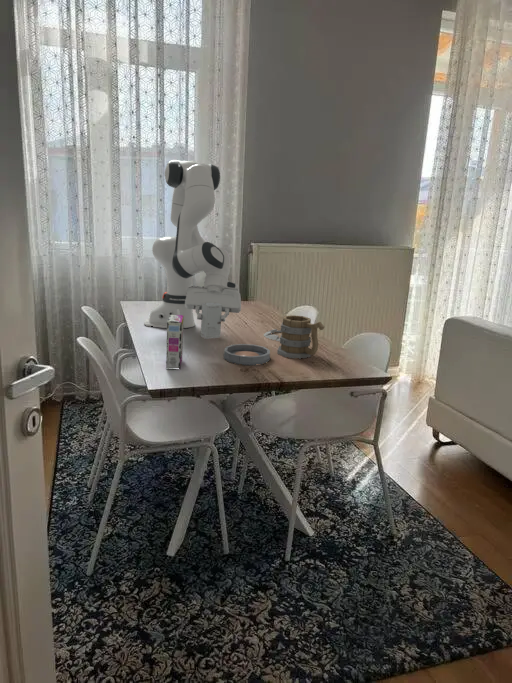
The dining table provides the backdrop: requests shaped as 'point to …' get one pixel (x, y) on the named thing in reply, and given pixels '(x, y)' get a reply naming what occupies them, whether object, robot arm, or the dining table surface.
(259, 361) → the round tray
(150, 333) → the dining table surface
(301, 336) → the tankard
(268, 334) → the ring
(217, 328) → the grey upright block
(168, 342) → the candy bar box
